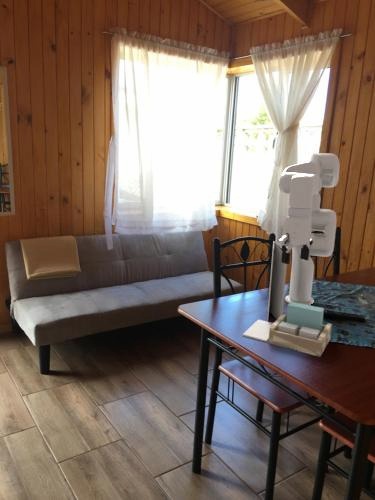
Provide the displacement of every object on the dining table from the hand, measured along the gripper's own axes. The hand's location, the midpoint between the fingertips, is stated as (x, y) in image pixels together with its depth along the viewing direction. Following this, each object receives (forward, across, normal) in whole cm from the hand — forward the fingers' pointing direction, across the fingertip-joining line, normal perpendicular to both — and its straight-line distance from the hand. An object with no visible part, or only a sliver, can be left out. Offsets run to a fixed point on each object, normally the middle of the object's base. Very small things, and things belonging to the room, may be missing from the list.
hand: (294, 261), depth 144 cm
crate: (+29, -1, +4) cm, 29 cm away
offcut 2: (+29, 0, +9) cm, 30 cm away
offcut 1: (+29, +3, +2) cm, 29 cm away
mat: (+29, +4, -9) cm, 31 cm away
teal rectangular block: (+29, -5, +2) cm, 30 cm away
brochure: (+29, -10, -16) cm, 35 cm away
